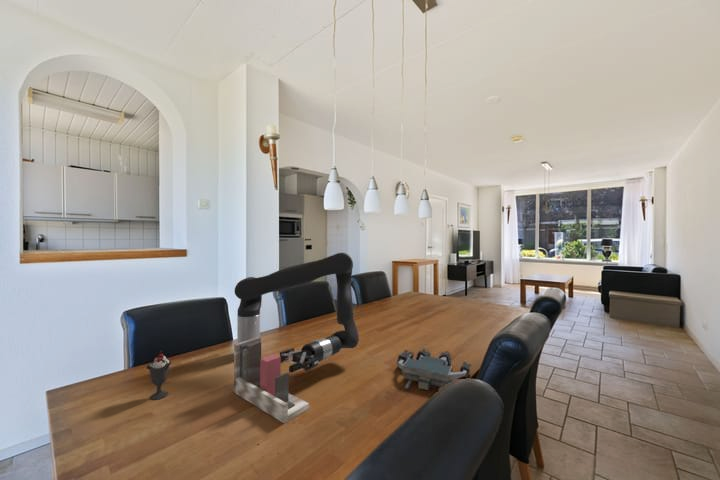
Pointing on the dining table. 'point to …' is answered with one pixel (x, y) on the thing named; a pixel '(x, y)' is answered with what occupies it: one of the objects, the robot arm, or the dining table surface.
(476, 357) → the dining table surface
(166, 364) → the sundae
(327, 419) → the dining table surface
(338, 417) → the dining table surface
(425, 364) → the toy
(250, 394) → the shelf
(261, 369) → the book
